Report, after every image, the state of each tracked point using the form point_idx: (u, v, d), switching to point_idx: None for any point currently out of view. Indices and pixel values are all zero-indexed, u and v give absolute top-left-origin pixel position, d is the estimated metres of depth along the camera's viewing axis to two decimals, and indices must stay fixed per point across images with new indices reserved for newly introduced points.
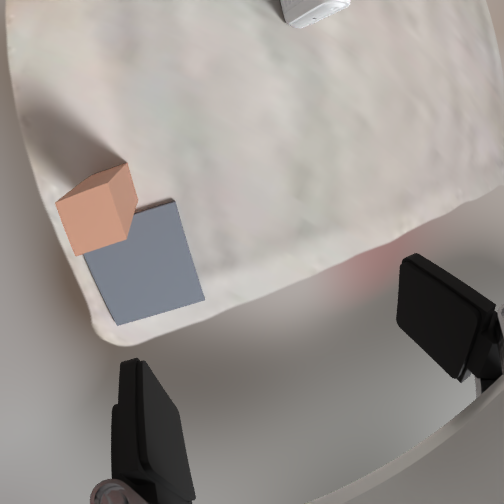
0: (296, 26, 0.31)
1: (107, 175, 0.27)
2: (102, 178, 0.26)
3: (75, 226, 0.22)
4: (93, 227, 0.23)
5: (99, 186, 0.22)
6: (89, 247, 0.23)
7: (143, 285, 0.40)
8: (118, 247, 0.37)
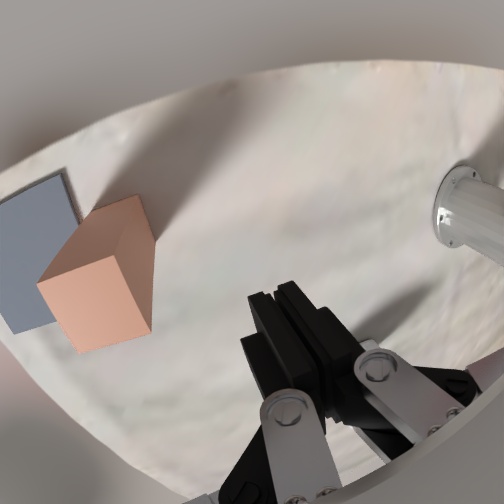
0: None
1: (147, 268, 0.21)
2: (144, 272, 0.20)
3: (80, 287, 0.14)
4: (84, 314, 0.14)
5: (144, 322, 0.16)
6: (54, 307, 0.14)
7: (10, 267, 0.24)
8: (48, 237, 0.24)
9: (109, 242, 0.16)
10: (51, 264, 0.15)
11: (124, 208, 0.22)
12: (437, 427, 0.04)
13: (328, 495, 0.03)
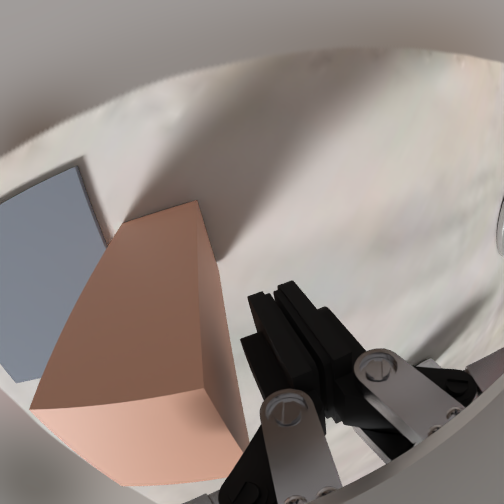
0: None
1: (225, 334, 0.13)
2: (226, 348, 0.12)
3: (123, 428, 0.06)
4: (133, 457, 0.07)
5: None
6: (72, 442, 0.06)
7: (4, 301, 0.16)
8: (57, 260, 0.17)
9: (175, 327, 0.08)
10: (56, 352, 0.07)
11: (181, 228, 0.14)
12: (437, 427, 0.04)
13: (328, 495, 0.03)
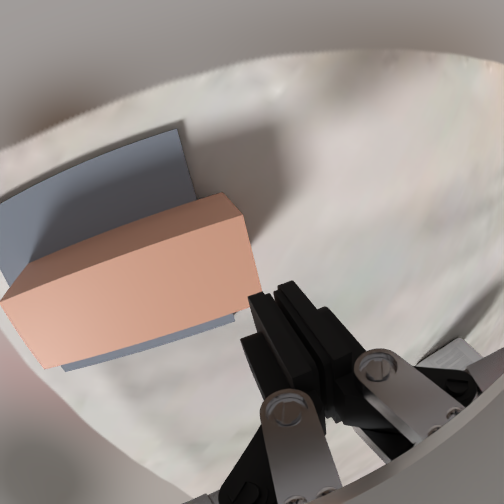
0: None
1: (116, 331, 0.14)
2: (95, 332, 0.14)
3: None
4: None
5: (38, 359, 0.14)
6: None
7: None
8: None
9: (30, 285, 0.13)
10: (52, 254, 0.16)
11: (154, 237, 0.14)
12: (437, 427, 0.04)
13: (328, 495, 0.03)
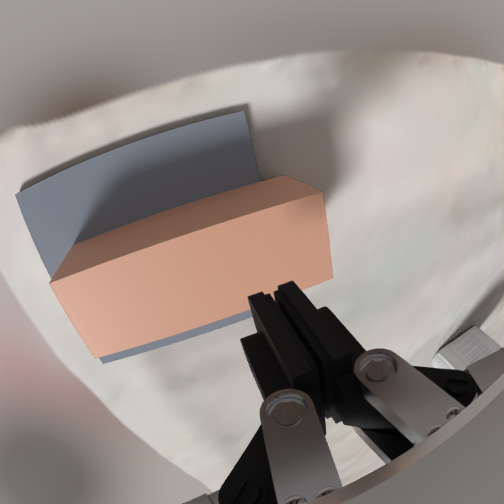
0: (436, 360, 0.35)
1: (187, 311, 0.15)
2: (163, 313, 0.14)
3: None
4: None
5: (88, 347, 0.14)
6: None
7: None
8: None
9: (89, 263, 0.13)
10: (103, 234, 0.17)
11: (235, 212, 0.14)
12: (437, 427, 0.04)
13: (328, 495, 0.03)
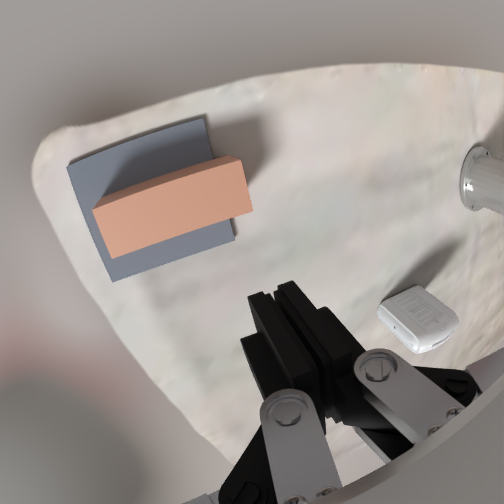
0: (379, 311, 0.47)
1: (167, 226, 0.27)
2: (154, 227, 0.26)
3: None
4: None
5: (109, 251, 0.26)
6: None
7: None
8: None
9: (115, 199, 0.25)
10: (120, 190, 0.29)
11: (194, 172, 0.26)
12: (437, 427, 0.04)
13: (328, 495, 0.03)
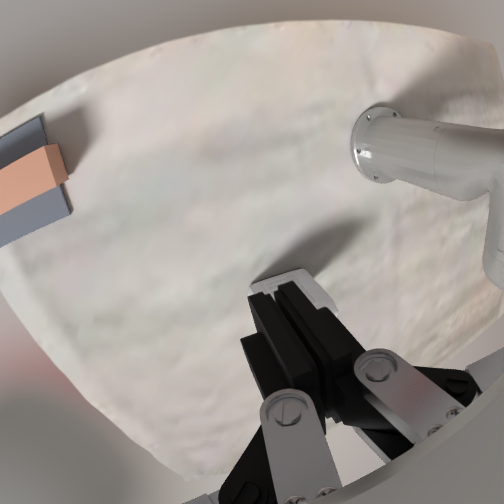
0: (248, 294, 0.47)
1: (3, 202, 0.27)
2: None
3: None
4: None
5: None
6: None
7: None
8: None
9: None
10: None
11: None
12: (437, 427, 0.04)
13: (328, 495, 0.03)
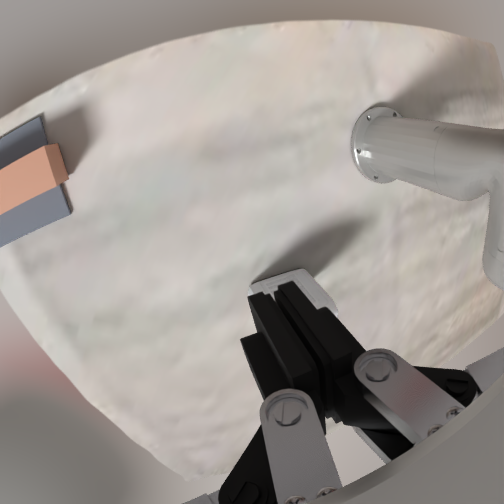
0: (248, 294, 0.47)
1: (3, 202, 0.27)
2: None
3: None
4: None
5: None
6: None
7: None
8: None
9: None
10: None
11: None
12: (437, 427, 0.04)
13: (328, 495, 0.03)
